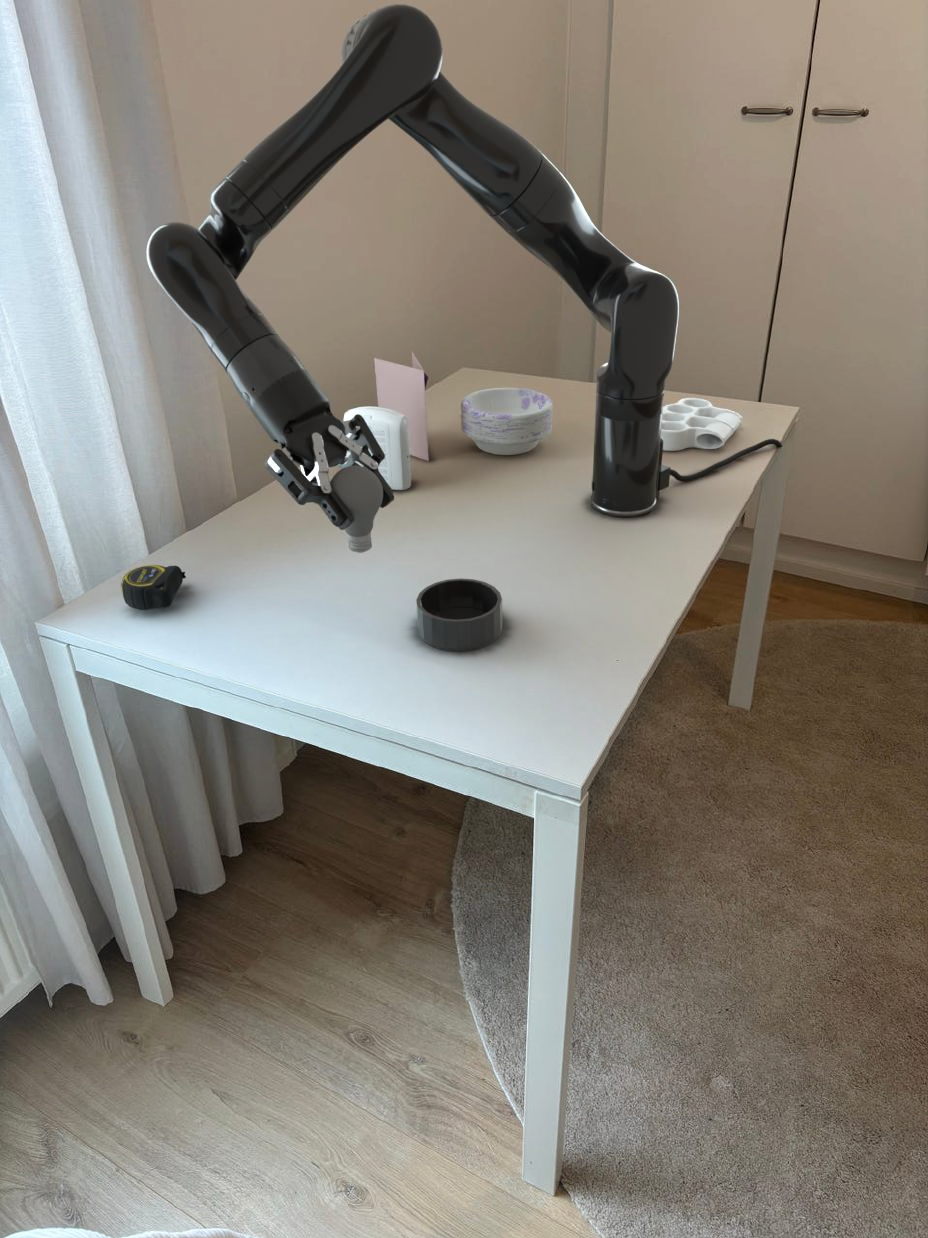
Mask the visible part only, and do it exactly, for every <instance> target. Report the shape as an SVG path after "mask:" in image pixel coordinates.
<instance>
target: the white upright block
mask: <svg viewBox="0 0 928 1238" xmlns="http://www.w3.org/2000/svg"><path fill="white" fill-rule="evenodd" d="M356 414H359V415H361V416H362V417H363V418H364V420H365V422H366V423H367V425H368V427H369V429H370V430H371V432H372V434H373V435H374V437H375V439H376V440H377V442H378V444H379V445H380V447H381V449H382V451H383V452H384V454H385V458H384V459H383V460H382V461H381V463H380V464H379V466H378V470H379V472H380V474H381V475H382V476H383V478H384V479H385V480H386V482H387V483H388V485H389V486H390V487H391V489H392V491H393V490H394V491H406V490H408V489H409V488H410V487H411V486H412V473H411V472H412V470H411V469H412V468H411V455H410V448H409V430H408V420H407V417H406V416H405V415H403V414H401V413H399V412H397V411H394V410H391V409H387V408H382V407H378V406H359V407H355V408H350V409H347V411H345V413H344V415H343V421H342V422H344V421H348V420H351V419H352V418H353V417H354V416H355V415H356ZM346 436H347V435H346ZM368 450H369V452H370V453H371V451H370V449H369V448H368ZM349 455H350V452H348V451H347V454H346V456H345V457H348V456H349ZM371 455H373V454H372V453H371ZM356 463H358V464H359V465H360V466H362V467H363V465H362V464H360V463H359V462H357V461H356Z"/></svg>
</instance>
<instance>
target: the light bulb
mask: <svg viewBox="0 0 928 1238" xmlns="http://www.w3.org/2000/svg"><path fill="white" fill-rule="evenodd" d="M329 481H330V485H331V493H332V492H334V491H335V492H336V493H337V495H338V496H339V498H340V499H341V500H342V502H343V503H344V504H345V506H346V507H347V509H348V510H349V511H350V513H351V514H352V515H353V517H354V522H353V523H352V524H351V525H350V526H349V527H347V528H346V529H344V531H345V533H346V534H347V540H348V541H347V542H348V549H349V551H350V552H352V553H356V554H357V553H358V554H363V553H365V552H368V551H370V550H371V549H372V548H373V544H372V530H373V528H374V520H375V517H376V516H377V513H378V512H379V509H380V508H381V507H380V506H381V503H382V500H383V487H382V484H381V482H380V480H379V479H378V477H377V476H376V475H375V474H374V473H373V472H372V471H371V470H369V469H367V468H365V467H362V466H348V467H345V468H342V469H341V468H340V469H339V470H338V471H337V472H336V473H335V474H333V476H332V478H331V479H330V480H329Z"/></svg>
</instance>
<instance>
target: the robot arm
mask: <svg viewBox="0 0 928 1238" xmlns="http://www.w3.org/2000/svg"><path fill="white" fill-rule="evenodd" d="M442 45H443V44H442V39H441V36H440V33H439V30H438V27H437V26H436V24H435V23H434V21H433V20H432V19H431V17H430V16H428V14H427V13H426V12H424V11H423V10H422V9H420V8H417V7H416V6H413V5H409V4H406V3H391V4H387V5H383V6H380V7H378V8H376V9H374V10H372V11H370V12H369V13H368V12H367V14H365V15H362V16H361V17H360V18H358V19H357V20H356V21H354V23H352V24H351V26H350V27H349V29H348V30H347V32H346V33H345V36H344V38H343V41H342V47H341V62H342V64H341V65H340V66H339V68H338V69H337V70H336V71H335V73H334V74H333V75H332V77H331V78H330V79H329V80H328V81H327V82H326V84H324V85H323V86H322V88H320V90H319V91H317V92H316V94H315V95H314V96H312V98H310V100H308V102H306V103H305V104H304V105H303V106H302V107H301V108H299V109H298V110H297V111H296V112H295V113H293V114H292V115H291V116H290V117H288V118H287V119H286V120H284V122H283V123H281V124H279V126H278V127H276V128H275V129H274V130H273V131H271V132H270V133H269V134H267V136H265V137H264V138H263V139H262V140H261V141H259V143H258V144H256V145H255V146H254V147H253V148H252V149H251V150H250V151H249V152H248V153H247V154H246V155H245V156H244V157H243V158H242V159H241V160H240V161H239V162H238V163H237V164H236V165H235V166H234V167H233V168H232V169H231V170H230V171H229V172H228V173H227V174H226V175H225V176H224V178H222V179H221V180H220V181H219V182H218V183H217V185H216V186H215V187H214V189H213V190H212V192H211V193H210V196H209V212H208V214H207V217H205V219H204V221H203V222H202V223H201V225H200V226H199V228H197V227H195V226H193V225H192V224H189V223H185V222H182V221H181V222H180V221H170V222H166V223H163V224H161V225H160V226H158V227H157V228H156V229H155V230H154V231H153V232H152V233H151V235H150V236H149V239H148V241H147V244H146V251H145V253H146V254H145V255H146V256H145V257H146V262H147V265H148V269H149V271H150V273H151V275H152V276H153V278H154V279H155V281H156V282H157V283H158V285H159V286H160V287H161V289H162V290H163V291H164V292H165V294H166V295H167V296H168V297H169V299H170V300H171V301H172V302H173V304H174V305H175V306H176V307H177V308H178V309H179V311H180V312H181V313H182V314H183V315H184V316H185V318H186V319H187V320H188V321H189V322H190V323H191V324H192V326H193V327H194V328H195V330H196V331H197V332H198V334H199V336H200V337H201V339H202V340H203V342H204V343H205V345H206V347H207V349H208V350H209V352H210V353H211V355H212V356H213V357H214V359H215V360H216V361H217V363H218V364H219V366H220V367H221V368H222V370H223V371H224V372H225V374H226V375H227V376H228V378H229V380H230V382H231V383H232V386H233V387H234V389H235V391H236V393H237V394H238V396H239V397H240V398H241V399H242V401H243V402H244V404H245V405H246V407H248V409H249V411H250V412H251V413H252V415H253V416H254V417H255V419H256V420H257V421H258V423H259V425H260V426H261V427H262V429H263V430H264V431H265V432H266V434H267V435H268V437H269V438H270V439H271V440H272V442H274V443H276V444H279V446H280V448H275V449H274V451H273V452H272V453H271V454H270V456H269V457H268V458H267V460H266V461H265V462H264V467H265V468H266V470H267V471H268V472H269V473H270V474H271V475H272V476H273V477H274V479H275V480H276V481H277V482H278V483H279V484H280V485H281V487H283V489H284V490H285V491H286V492H287V493H288V494H289V495H290V496H291V498H292V499H293V500H294V501H295V502H296V503H297V504H298V505H299V506H304V505H306V504H307V503H314V504H315V505H318V506H319V507H320V509H321V510H322V511H323V513H324V514H325V515H326V516H327V518H328V520H330V522H331V524H332V525H333V526H335V527H336V528H338V529H339V530H341V531H345V529H346V528H347V527H349V526H350V525H351V524H352V523H353V522H354V517H353V515H352V514H351V513H350V511H349V510H348V509H347V507H346V506H345V504H344V503H343V502H342V500H341V499H340V498H339V496H338V495H337V493H336V492H335V491H334V492H332V493H331V485H330V481H331V480H330V478H329V471H330V468H335V467H336V466H337V467H338V468H339V469H340V470H341V469H342V468H345V467H348V466H360V465H359V464H358V463H356V461H357V462H359V463H360V464H362V465H363V467H365V468H367V469H369V470H371V471H372V472H373V473H374V474H375V475H376V476H377V477H378V479H379V480H380V482H381V484H382V487H383V500H382V503H381V506H380V508H381V509H384V508H386V507H387V506H389V505H390V504H391V503H392V502H393V501H394V500H395V495H394V491H393V489H391V487H390V486H389V485H388V483H387V482H386V480H385V479H384V478H383V476H382V475H381V474H380V472H379V470H378V466H379V464H380V463H381V461H382V460H383V459H384V458H385V454H384V452H383V451H382V449H381V447H380V445H379V444H378V442H377V440H376V439H375V437H374V435H373V434H372V432H371V430H370V429H369V427H368V425H367V423H366V422H365V420H364V418H363V417H362V416H361V415H359V414H356V415H355V416H354V417H353V418H352V419H351V420H348V421H344V422H343V421H342V420H341V419H339V418H338V417H337V416H335V415H334V413H332V411H331V403H330V400H329V398H328V397H327V396H326V395H325V392H324V391H323V390H322V389H321V387H320V386H319V385H318V383H317V382H316V381H315V380H314V378H313V376H312V375H311V374H310V372H309V371H308V369H307V368H306V367H305V366H304V364H303V363H302V362H301V361H300V359H299V358H298V356H297V354H296V353H295V352H294V351H293V350H292V349H291V348H290V347H289V345H287V343H286V342H285V341H284V340H283V339H282V338H281V336H279V334H278V332H277V331H276V330H275V328H274V327H273V326H272V324H271V323H270V322H269V320H268V319H267V317H266V316H265V315H264V313H262V311H261V309H259V308H258V306H257V305H256V304H255V303H254V301H252V300H251V299H250V297H249V296H248V295H247V294H246V293H245V292H244V291H243V289H242V288H241V286H240V285H239V283H238V282H237V279H238V278H239V277H240V275H241V273H242V272H243V270H244V269H245V267H246V266H247V265H248V263H249V262H250V260H251V259H252V257H253V255H254V254H255V251H256V250H257V248H258V246H259V245H260V244H261V242H262V241H263V240H264V239H265V238H266V237H267V236H268V235H269V234H270V233H271V232H272V231H274V230H275V229H276V228H277V227H278V225H280V224H281V223H282V221H284V219H285V218H286V217H287V216H289V214H290V213H291V212H293V210H294V209H295V208H296V207H297V206H298V205H299V204H300V203H301V202H302V201H303V200H304V199H305V197H307V196H308V195H309V193H310V192H311V191H312V190H314V188H315V187H316V186H317V185H318V184H319V183H320V181H321V180H323V179H324V177H325V176H327V174H328V173H330V171H331V170H332V169H333V168H334V167H335V166H337V164H338V163H339V162H340V161H341V160H342V159H343V158H344V157H345V156H346V155H347V154H348V153H350V152H351V151H352V150H353V149H354V148H355V147H356V146H357V145H358V144H359V143H361V141H363V140H364V139H365V138H366V137H367V136H369V135H370V134H371V133H372V132H373V131H375V129H377V128H378V127H380V126H381V125H382V124H383V123H384V122H386V121H387V120H389V121H390V122H391V123H392V124H394V125H395V126H396V127H398V128H399V129H400V130H402V131H403V132H404V133H405V134H407V135H408V136H409V137H411V138H412V139H413V140H414V141H415V142H416V143H417V144H419V145H420V146H421V147H422V148H423V149H424V150H425V151H427V152H428V153H429V154H430V156H432V158H433V159H434V160H435V161H436V162H437V163H438V164H439V165H440V167H441V168H442V169H443V170H444V171H445V172H446V173H447V174H448V175H449V177H450V178H452V180H453V181H454V182H455V183H456V184H457V185H458V186H459V187H460V188H461V189H462V190H463V191H464V192H465V193H466V194H467V195H468V196H469V197H470V198H471V199H472V200H473V201H474V202H475V203H476V204H477V206H479V207H480V208H481V210H482V211H483V212H484V213H485V214H486V215H488V216H489V217H490V219H492V220H493V221H494V222H495V223H496V224H497V225H498V226H499V227H500V228H501V229H502V230H503V231H504V232H505V233H506V234H507V235H508V236H509V237H510V238H512V239H513V240H514V241H516V242H517V243H518V244H519V245H520V246H521V247H523V248H524V249H525V250H526V251H527V252H528V253H529V254H531V255H532V256H533V257H534V258H536V259H537V260H539V261H540V262H542V263H543V264H544V265H546V266H547V267H548V268H550V269H551V270H552V271H554V273H556V274H557V275H558V276H559V277H560V278H561V279H562V280H563V281H564V282H565V283H566V284H567V286H568V287H569V288H570V289H571V290H572V292H573V293H574V294H575V295H576V296H577V297H578V299H579V300H580V301H581V303H582V304H583V305H584V306H585V308H586V309H587V310H588V311H589V312H590V313H591V315H592V317H594V319H595V320H596V321H597V322H598V323H599V324H600V326H601V327H602V328H604V329H605V330H606V331H608V332H609V333H611V336H610V349H609V357H608V362H606V363H604V364H602V365H601V366H600V367H599V368H598V370H597V375H596V390H595V391H596V392H595V414H594V416H595V417H594V438H593V459H592V460H593V461H592V462H593V463H592V479H591V496H590V505H591V507H592V508H593V509H595V510H596V511H598V512H599V513H602V514H605V515H608V516H612V517H623V518H624V517H627V518H628V517H638V516H642V515H645V514H648V513H650V512H652V511H653V510H654V509H655V508H656V505H657V501H659V500H660V492H661V491H663V490H665V489H667V488H669V487H670V478H671V477H673V478H674V479H675V480H676V481H678V482H690V481H694V480H698V479H700V478H703V477H704V476H707V475H708V474H710V473H712V472H714V471H716V470H718V469H721V468H723V467H725V466H727V465H729V464H731V463H733V462H735V461H736V460H738V459H739V458H742V457H744V456H746V455H749V454H751V453H753V452H756V451H758V450H760V449H762V448H764V447H766V446H769V445H774V446H775V447H777V448H781V447H783V444H782V442H781V441H780V440H778V439H776V438H768V439H765V440H763V441H760V442H758V443H756V444H754V445H752V446H749V447H746V448H744V449H742V450H740V451H738V452H735V453H734V454H732V455H731V456H729V457H727V458H725V459H722V460H720V461H718V462H716V463H714V464H712V465H710V466H708V467H706V468H704V469H702V470H701V471H698V472H696V473H693V474H688V475H681V474H680V473H679V472H678V471H676V470H675V469H672V468H671V466H668V465H664V464H663V454H664V450H663V439H662V438H661V426H662V414H663V407H664V400H665V399H664V398H665V387H666V380H667V378H668V376H669V374H670V372H671V370H672V366H673V362H674V357H675V356H674V355H675V348H676V341H677V340H676V339H677V334H678V324H679V316H680V315H679V314H680V305H679V304H680V301H679V295H678V292H677V291H678V290H677V288H676V286H675V285H674V283H673V281H671V279H670V278H668V277H667V276H666V275H665V274H663V273H660V272H659V271H656V270H653V269H651V268H649V267H647V266H644V265H642V264H640V263H638V262H637V261H635V260H633V259H632V258H630V257H629V256H628V255H626V254H625V253H624V252H622V251H621V250H620V249H619V248H618V247H617V246H616V245H614V243H612V242H611V241H610V240H609V239H607V238H606V237H605V236H604V234H603V233H601V232H600V231H599V229H598V228H597V227H596V226H595V225H594V223H593V222H592V220H591V218H590V217H589V215H588V213H587V211H586V210H585V208H584V205H583V203H582V202H581V200H580V198H579V196H578V195H577V193H576V191H575V190H574V188H573V186H572V185H571V183H569V181H568V180H567V179H566V177H565V176H564V174H563V173H561V171H560V170H559V169H558V168H557V167H556V166H555V165H554V164H553V163H552V162H551V161H550V160H549V159H548V158H547V157H546V156H545V154H543V152H542V151H541V150H539V148H537V147H536V146H535V144H533V143H532V142H531V141H530V140H529V139H527V138H526V137H525V136H523V135H522V134H521V133H519V132H518V131H517V130H515V129H514V128H513V127H511V126H509V125H508V124H506V123H505V122H503V121H501V120H500V119H498V118H497V117H495V116H494V115H492V114H490V113H489V112H487V110H486V111H485V110H484V109H483V108H480V107H479V106H478V105H476V104H475V103H473V102H472V101H471V100H469V99H468V98H467V97H465V95H463V94H462V93H461V92H460V91H459V90H458V89H457V88H456V87H455V86H454V85H453V84H452V83H451V81H450V80H448V78H447V76H445V75H444V74H443V72H441V70H442V69H441V68H442V63H443V46H442ZM346 435H347V436H346ZM368 448H369V449H370V451H371V453H372V454H373V455H371V453H370V452H369V450H368ZM347 451H348V452H350V455H349V456H348V457H346V454H347ZM296 464H297V465H299V466H300V469H299V467H298V466H297V465H296Z"/></svg>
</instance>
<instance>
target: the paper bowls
mask: <svg viewBox="0 0 928 1238" xmlns="http://www.w3.org/2000/svg"><path fill="white" fill-rule="evenodd" d="M553 403H554V402H553V400H552V399H551V398H550V397H549V396H548V395H546V394H544V393H541V392H540V391H536V390H533V389H527V388H519V387H518V388H517V387H493V388H485V389H481V390H476V391H473V392H471V393H469V394H467V395H465V396H464V397H463V398H462V400H461V403H460V424H461V425H460V426H461V431H462V433H463V434H464V435H465V436H467V437H468V438H471V439H472V440H473V441H474V444H475V445H476V446H477V448H479V450H481V451H483V452H485V453H488V454H492V455H496V456H517V455H522V454H526V453H528V452H530V451H532V450H533V449H535V448H536V447H537V446H538V443H539V442H540V440H543V439H545V438H546V437H548V436H549V435H550V434H551V433H552V428H553V410H554V409H553V406H554V404H553Z"/></svg>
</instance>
